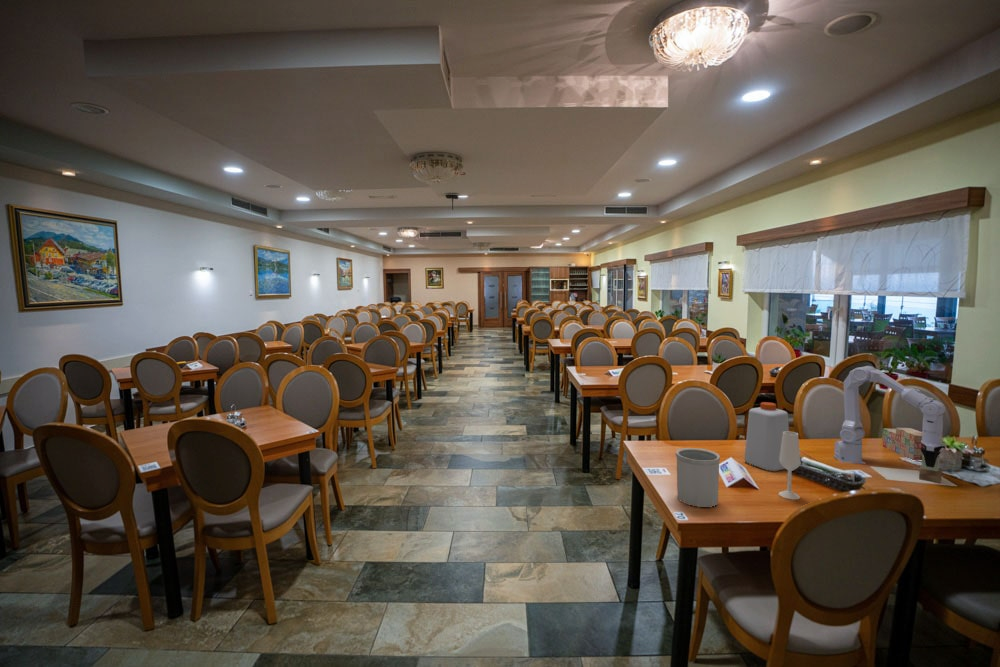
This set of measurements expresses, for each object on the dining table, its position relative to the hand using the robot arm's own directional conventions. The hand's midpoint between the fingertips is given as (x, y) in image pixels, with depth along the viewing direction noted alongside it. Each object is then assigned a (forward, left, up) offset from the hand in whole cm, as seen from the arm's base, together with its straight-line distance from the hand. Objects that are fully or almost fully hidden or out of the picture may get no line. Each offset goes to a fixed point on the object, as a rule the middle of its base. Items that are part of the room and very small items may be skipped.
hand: (930, 464), depth 172 cm
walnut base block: (0, 0, -6) cm, 6 cm away
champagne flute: (-57, -32, -7) cm, 66 cm away
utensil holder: (-90, -46, -7) cm, 101 cm away
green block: (0, 0, -2) cm, 2 cm away
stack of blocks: (+8, +36, -7) cm, 37 cm away
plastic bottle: (-57, +1, -7) cm, 57 cm away
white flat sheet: (-5, +2, -7) cm, 9 cm away
